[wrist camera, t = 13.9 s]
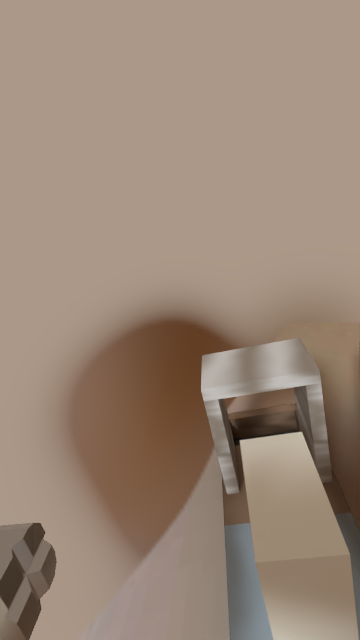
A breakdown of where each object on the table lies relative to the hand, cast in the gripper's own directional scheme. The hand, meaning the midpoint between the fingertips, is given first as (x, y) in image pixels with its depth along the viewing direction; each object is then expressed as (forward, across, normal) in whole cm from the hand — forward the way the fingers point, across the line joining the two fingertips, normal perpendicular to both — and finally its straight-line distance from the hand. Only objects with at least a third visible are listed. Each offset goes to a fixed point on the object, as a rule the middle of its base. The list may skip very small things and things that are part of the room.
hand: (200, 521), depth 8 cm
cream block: (+16, -3, +26) cm, 31 cm away
